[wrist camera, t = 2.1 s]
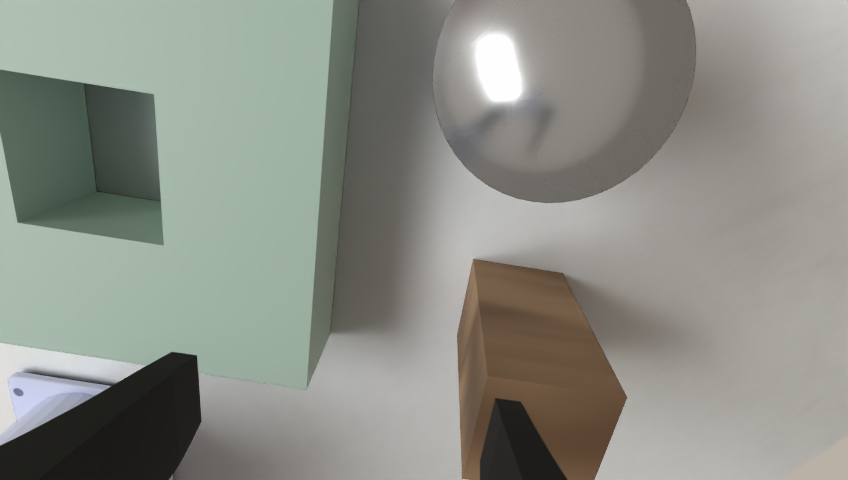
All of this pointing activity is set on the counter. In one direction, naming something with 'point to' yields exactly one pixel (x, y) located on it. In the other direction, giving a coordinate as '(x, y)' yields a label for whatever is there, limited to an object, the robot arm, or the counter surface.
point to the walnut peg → (534, 367)
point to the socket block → (177, 181)
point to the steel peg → (561, 90)
